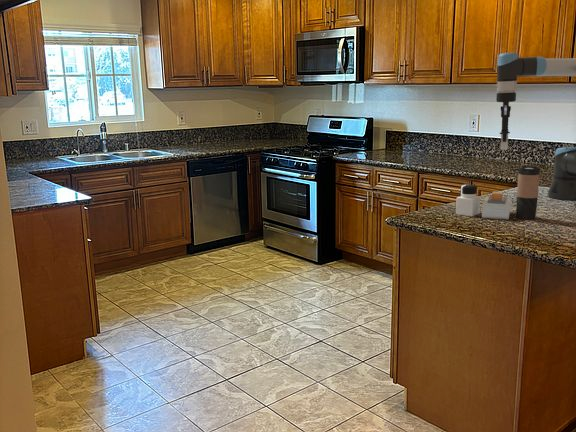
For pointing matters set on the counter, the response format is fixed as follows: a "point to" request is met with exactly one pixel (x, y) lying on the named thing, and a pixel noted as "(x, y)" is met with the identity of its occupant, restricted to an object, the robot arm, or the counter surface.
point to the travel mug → (527, 192)
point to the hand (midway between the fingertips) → (504, 149)
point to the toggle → (497, 196)
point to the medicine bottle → (468, 201)
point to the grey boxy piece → (496, 208)
